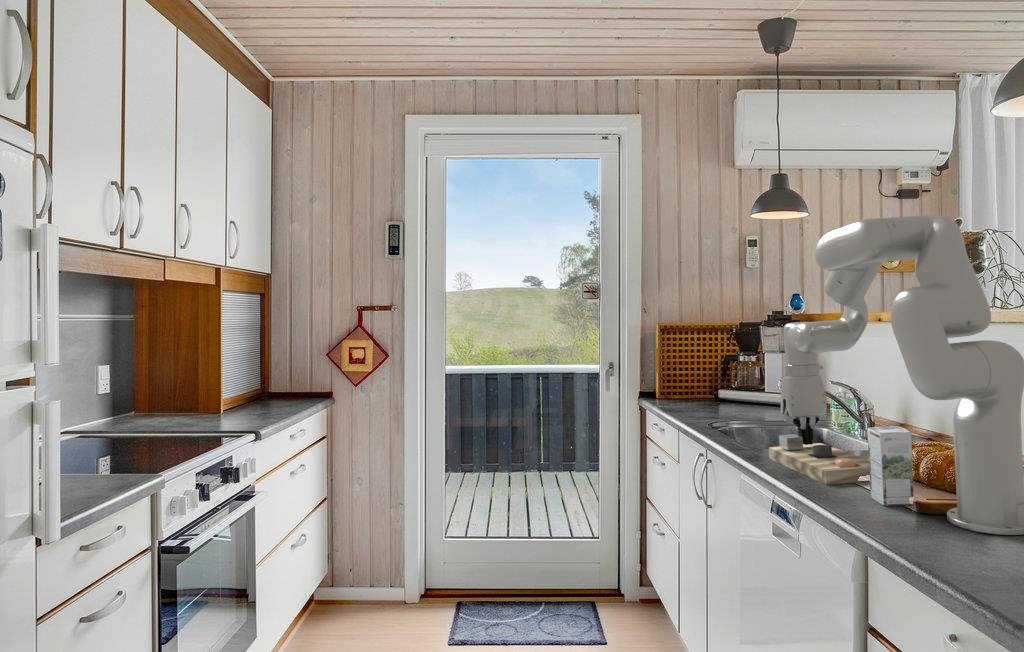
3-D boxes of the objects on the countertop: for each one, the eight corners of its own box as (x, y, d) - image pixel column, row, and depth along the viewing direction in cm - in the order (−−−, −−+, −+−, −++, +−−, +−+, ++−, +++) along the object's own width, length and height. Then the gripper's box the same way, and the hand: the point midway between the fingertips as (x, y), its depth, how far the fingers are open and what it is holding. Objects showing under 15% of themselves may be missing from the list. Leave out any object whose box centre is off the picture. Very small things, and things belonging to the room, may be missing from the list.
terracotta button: (859, 475, 144) (858, 461, 144) (842, 477, 144) (841, 463, 144) (848, 471, 148) (848, 457, 148) (832, 473, 148) (831, 459, 148)
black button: (835, 461, 153) (835, 447, 153) (819, 462, 153) (818, 449, 152) (826, 457, 157) (825, 444, 157) (810, 458, 157) (809, 445, 156)
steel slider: (803, 449, 162) (802, 436, 162) (787, 450, 161) (787, 438, 161) (794, 445, 166) (794, 434, 165) (779, 447, 165) (779, 435, 165)
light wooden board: (887, 479, 142) (886, 465, 142) (826, 484, 141) (825, 471, 141) (821, 454, 168) (820, 442, 168) (769, 458, 167) (768, 447, 167)
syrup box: (900, 497, 130) (896, 424, 129) (915, 506, 124) (911, 430, 124) (870, 498, 130) (866, 426, 130) (884, 507, 124) (879, 431, 124)
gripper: (822, 367, 168) (826, 438, 168) (766, 372, 167) (770, 443, 167) (839, 370, 160) (843, 444, 161) (780, 374, 159) (785, 449, 159)
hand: (806, 443), depth 164 cm, fingers closed
